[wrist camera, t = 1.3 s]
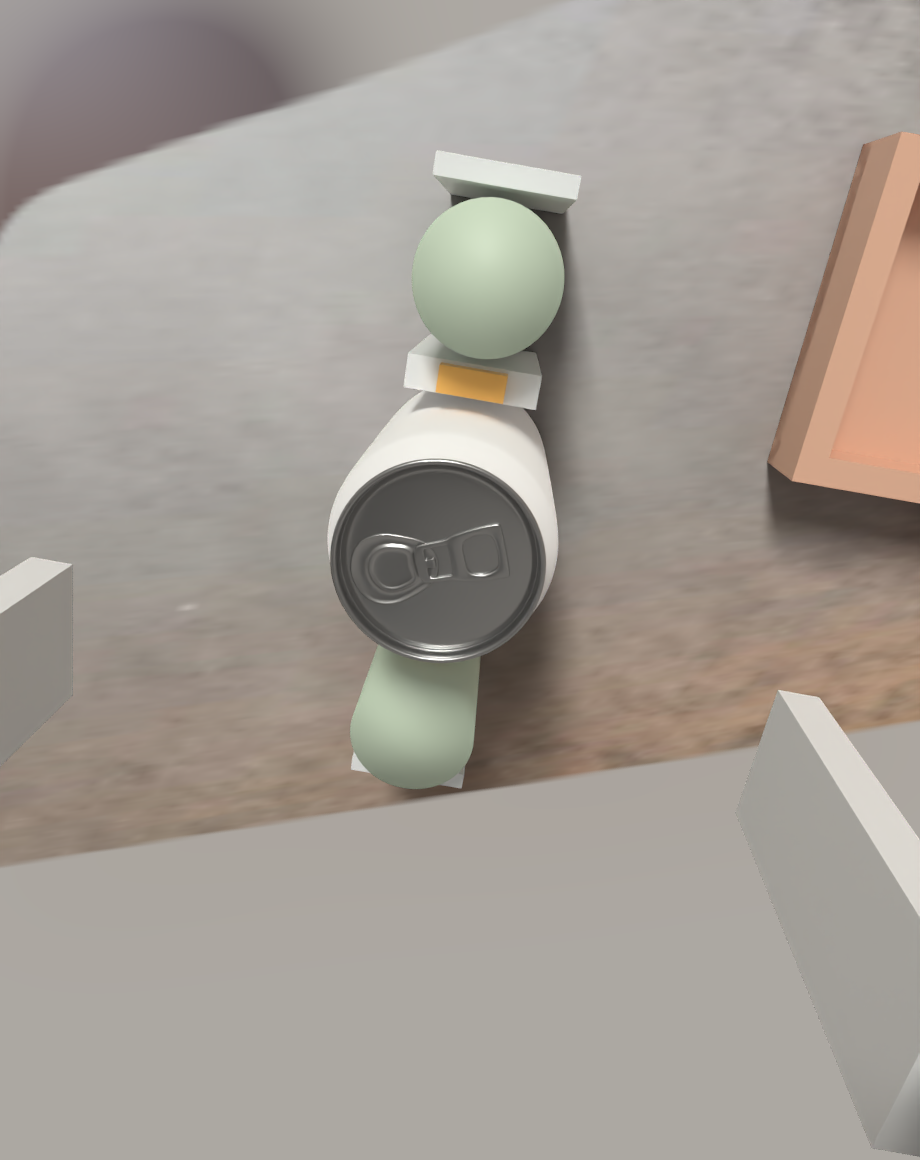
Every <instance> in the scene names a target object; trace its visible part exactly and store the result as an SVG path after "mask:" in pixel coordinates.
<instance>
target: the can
mask: <svg viewBox="0 0 920 1160" xmlns="http://www.w3.org/2000/svg"><path fill="white" fill-rule="evenodd" d="M328 553H329V559H330V565H331V574H332V579H333V583H334V587H335V590H336V593H337V595H338V597H339V600H340V602H341V604H342V606H343V607H344V609H345V611H346V612H347V614H348V615H349V617H350V618H351V619H352V621H353V622H354V623H355V624H356V625H357V627H358V628H359V629H360V630H361V631H362V632H363V633H364V634H366V635H367V636H368V637H369V638H370V639H372V640H373V641H374V642H376V643H377V644H379V645H380V646H382V647H383V648H385V649H387V650H389V651H391V652H393V653H395V654H398V655H400V656H403V657H406V658H409V659H413V660H417V661H422V662H429V663H453V662H460V661H466V660H470V659H473V658H476V657H479V656H482V655H484V654H487V653H489V652H491V651H493V650H495V649H496V648H498V647H500V646H501V645H503V644H504V643H506V642H507V641H508V640H510V639H511V638H512V637H513V636H514V635H515V634H516V633H517V632H518V631H519V630H520V629H521V628H522V627H523V626H524V625H525V623H526V622H527V621H528V619H529V618H530V616H531V615H532V613H533V612H534V611H535V609H536V608H537V607H538V605H539V604H540V603H541V601H542V599H543V598H544V596H545V594H546V592H547V590H548V588H549V586H550V583H551V581H552V578H553V575H554V571H555V567H556V562H557V556H558V526H557V518H556V511H555V505H554V499H553V493H552V487H551V481H550V475H549V470H548V465H547V459H546V454H545V450H544V446H543V442H542V439H541V436H540V434H539V431H538V429H537V427H536V425H535V424H534V422H533V420H532V419H531V417H530V416H529V415H528V413H527V412H526V411H525V410H524V409H523V408H521V407H515V406H509V405H504V404H498V403H492V402H486V401H481V400H475V399H469V398H464V397H458V396H452V395H447V394H441V393H435V392H430V391H422V392H421V393H419V394H417V395H416V396H414V397H413V398H411V399H410V400H409V401H408V402H407V403H405V404H404V405H403V406H402V407H401V408H400V409H399V410H398V412H397V413H396V414H395V415H394V416H393V417H392V419H391V420H390V421H389V422H388V424H387V425H386V426H385V427H384V429H383V430H382V431H381V432H380V434H379V435H378V436H377V437H376V439H375V440H374V441H373V442H372V444H371V445H370V446H369V448H368V449H367V450H366V452H365V453H364V454H363V455H362V457H361V458H360V459H359V461H358V462H357V463H356V465H355V466H354V467H353V469H352V470H351V472H350V473H349V475H348V476H347V478H346V479H345V481H344V483H343V484H342V486H341V488H340V490H339V492H338V494H337V496H336V499H335V502H334V505H333V508H332V511H331V515H330V520H329V526H328Z"/></svg>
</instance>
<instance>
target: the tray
mask: <svg viewBox="0 0 920 1160" xmlns="http://www.w3.org/2000/svg"><path fill="white" fill-rule="evenodd" d="M767 462H768V463H769V464H771V465H772V466H773V467H774V468H776V469H777V470H778V471H780V472H781V473H782V474H783V475H785V476H786V477H787V478H789V479H790V480H791V481H795V482H801V483H806V484H812V485H818V486H823V487H829V488H835V489H840V490H846V491H852V492H858V493H863V494H869V495H875V496H880V497H886V498H892V499H897V500H903V501H909V502H915V503H920V135H918V134H913V133H907V132H899V133H896V134H893V135H890V136H887V137H885V138H882V139H879V140H876V141H873V142H870V143H867V144H864V145H863V147H862V150H861V154H860V157H859V160H858V164H857V167H856V170H855V173H854V177H853V180H852V183H851V187H850V190H849V193H848V197H847V200H846V203H845V207H844V210H843V213H842V216H841V220H840V223H839V226H838V230H837V233H836V236H835V240H834V243H833V246H832V250H831V253H830V256H829V260H828V263H827V266H826V269H825V273H824V276H823V279H822V283H821V286H820V289H819V293H818V296H817V299H816V303H815V306H814V309H813V312H812V316H811V319H810V322H809V326H808V329H807V332H806V336H805V339H804V342H803V346H802V349H801V352H800V356H799V359H798V362H797V365H796V369H795V372H794V375H793V379H792V382H791V385H790V389H789V392H788V395H787V399H786V402H785V405H784V408H783V412H782V415H781V418H780V422H779V425H778V428H777V432H776V435H775V438H774V442H773V445H772V448H771V451H770V455H769V458H768V461H767Z"/></svg>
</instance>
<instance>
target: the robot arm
mask: <svg viewBox="0 0 920 1160" xmlns="http://www.w3.org/2000/svg"><path fill="white" fill-rule="evenodd" d="M72 696H73V564H68V563H62V562H57V561H51V560H46V559H40V558H34V557H30V558H29V559H27V560H26V561H24V562H22V563H21V564H19V565H17V566H16V567H14V568H12V569H11V570H9V571H7V572H6V573H4V574H3V575H1V576H0V766H1V765H2V764H3V763H4V762H5V761H6V760H7V759H8V758H9V757H10V756H11V755H12V754H14V753H15V752H16V751H17V750H18V749H19V748H20V747H21V746H22V745H23V744H24V743H25V742H26V741H27V740H28V739H29V738H30V737H31V736H32V735H33V734H34V733H35V732H36V731H37V730H38V729H39V728H40V727H41V726H42V725H43V724H44V723H45V722H46V721H47V720H48V719H49V718H50V717H51V716H52V715H53V714H54V713H55V712H56V711H57V710H58V709H59V708H60V707H61V706H62V705H63V704H64V703H65V702H66V701H68V700H69V699H70V698H71V697H72ZM736 815H737V818H738V821H739V823H740V825H741V828H742V830H743V833H744V835H745V838H746V840H747V842H748V845H749V847H750V850H751V853H752V855H753V857H754V860H755V862H756V865H757V867H758V870H759V872H760V874H761V877H762V880H763V882H764V885H765V887H766V889H767V892H768V894H769V897H770V899H771V902H772V904H773V907H774V909H775V911H776V914H777V916H778V919H779V921H780V924H781V926H782V929H783V931H784V934H785V936H786V939H787V941H788V944H789V946H790V949H791V951H792V953H793V956H794V958H795V961H796V963H797V966H798V968H799V971H800V973H801V975H802V978H803V981H804V983H805V985H806V988H807V990H808V993H809V995H810V998H811V1000H812V1003H813V1005H814V1008H815V1010H816V1012H817V1015H818V1017H819V1020H820V1022H821V1025H822V1027H823V1030H824V1032H825V1035H826V1037H827V1040H828V1042H829V1044H830V1047H831V1049H832V1052H833V1054H834V1057H835V1059H836V1062H837V1064H838V1067H839V1069H840V1072H841V1074H842V1077H843V1079H844V1081H845V1084H846V1086H847V1089H848V1091H849V1094H850V1096H851V1099H852V1101H853V1104H854V1106H855V1109H856V1111H857V1114H858V1116H859V1118H860V1121H861V1123H862V1126H863V1128H864V1131H865V1133H866V1136H867V1138H868V1141H869V1143H870V1145H871V1148H873V1149H879V1150H885V1151H891V1152H896V1153H902V1154H908V1155H913V1156H919V1157H920V839H919V838H918V837H917V835H916V834H915V832H914V831H913V829H912V828H911V827H910V825H909V824H908V823H907V821H906V820H905V818H904V817H903V816H902V814H901V813H900V811H899V810H898V808H897V807H896V805H895V804H894V803H893V801H892V800H891V798H890V797H889V796H888V794H887V793H886V791H885V790H884V788H883V787H882V786H881V784H880V783H879V781H878V780H877V779H876V777H875V776H874V774H873V773H872V772H871V770H870V769H869V767H868V766H867V765H866V763H865V762H864V760H863V759H862V757H861V756H860V755H859V753H858V752H857V750H856V749H855V747H854V746H853V745H852V743H851V742H850V740H849V739H848V738H847V736H846V735H845V733H844V732H843V731H842V729H841V728H840V726H839V725H838V723H837V722H836V721H835V719H834V718H833V716H832V715H831V714H830V712H829V711H828V709H827V708H826V706H825V705H824V704H823V702H822V701H821V699H820V698H819V697H815V696H809V695H803V694H798V693H792V692H787V691H781V690H778V691H777V694H776V697H775V700H774V703H773V706H772V709H771V712H770V715H769V717H768V720H767V723H766V726H765V729H764V732H763V735H762V738H761V741H760V744H759V746H758V749H757V752H756V755H755V758H754V761H753V764H752V767H751V770H750V773H749V775H748V778H747V781H746V784H745V787H744V790H743V793H742V796H741V798H740V801H739V804H738V807H737V810H736Z"/></svg>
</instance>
